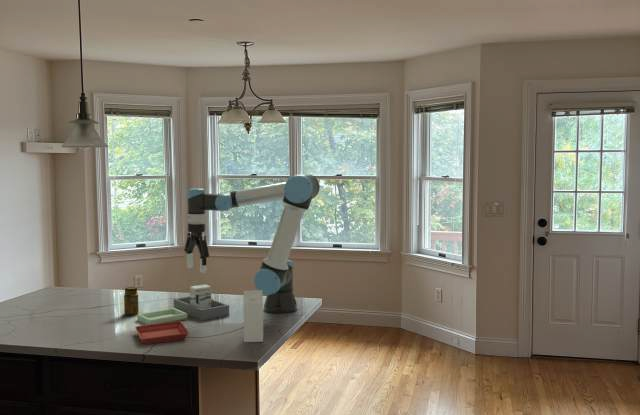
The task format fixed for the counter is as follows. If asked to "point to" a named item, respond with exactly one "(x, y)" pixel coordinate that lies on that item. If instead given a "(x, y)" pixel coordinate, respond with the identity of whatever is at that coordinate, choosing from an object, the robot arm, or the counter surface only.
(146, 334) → the plant saucer
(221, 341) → the counter surface
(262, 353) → the counter surface
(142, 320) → the tray
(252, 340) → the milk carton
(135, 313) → the condiment
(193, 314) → the tray
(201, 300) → the ink box
